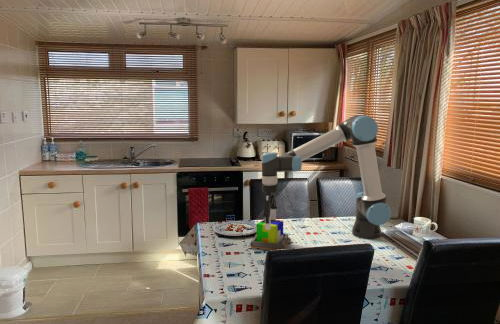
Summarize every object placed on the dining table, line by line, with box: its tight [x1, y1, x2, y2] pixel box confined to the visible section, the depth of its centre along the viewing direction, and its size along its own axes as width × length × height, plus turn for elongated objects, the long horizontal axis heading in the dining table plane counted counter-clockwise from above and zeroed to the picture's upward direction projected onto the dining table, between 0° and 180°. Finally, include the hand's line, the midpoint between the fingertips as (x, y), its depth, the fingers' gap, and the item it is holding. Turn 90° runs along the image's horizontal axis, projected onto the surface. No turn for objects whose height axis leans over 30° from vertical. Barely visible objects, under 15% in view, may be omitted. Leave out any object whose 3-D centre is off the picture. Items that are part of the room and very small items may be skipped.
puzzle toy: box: [256, 219, 284, 243], centre depth 194 cm, size 10×10×10 cm
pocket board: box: [247, 233, 291, 251], centre depth 194 cm, size 18×18×3 cm
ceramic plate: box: [213, 220, 257, 237], centre depth 215 cm, size 26×26×3 cm
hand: (270, 225), depth 193 cm, fingers open, 13 cm apart
